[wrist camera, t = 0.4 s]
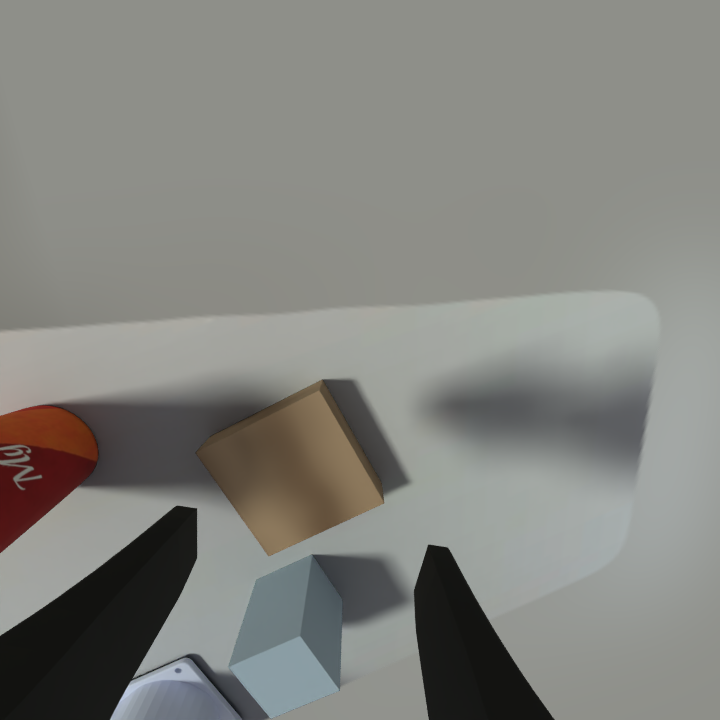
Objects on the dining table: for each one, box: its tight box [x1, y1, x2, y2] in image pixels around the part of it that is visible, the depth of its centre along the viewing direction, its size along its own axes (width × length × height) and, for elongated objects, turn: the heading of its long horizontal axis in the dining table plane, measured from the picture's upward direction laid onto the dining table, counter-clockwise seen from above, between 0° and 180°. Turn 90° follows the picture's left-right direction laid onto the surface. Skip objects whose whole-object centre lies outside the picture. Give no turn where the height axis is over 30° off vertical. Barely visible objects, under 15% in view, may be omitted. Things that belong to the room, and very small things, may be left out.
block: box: [228, 555, 343, 719], centre depth 21 cm, size 4×4×6 cm
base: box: [196, 380, 384, 556], centre depth 20 cm, size 8×8×2 cm
